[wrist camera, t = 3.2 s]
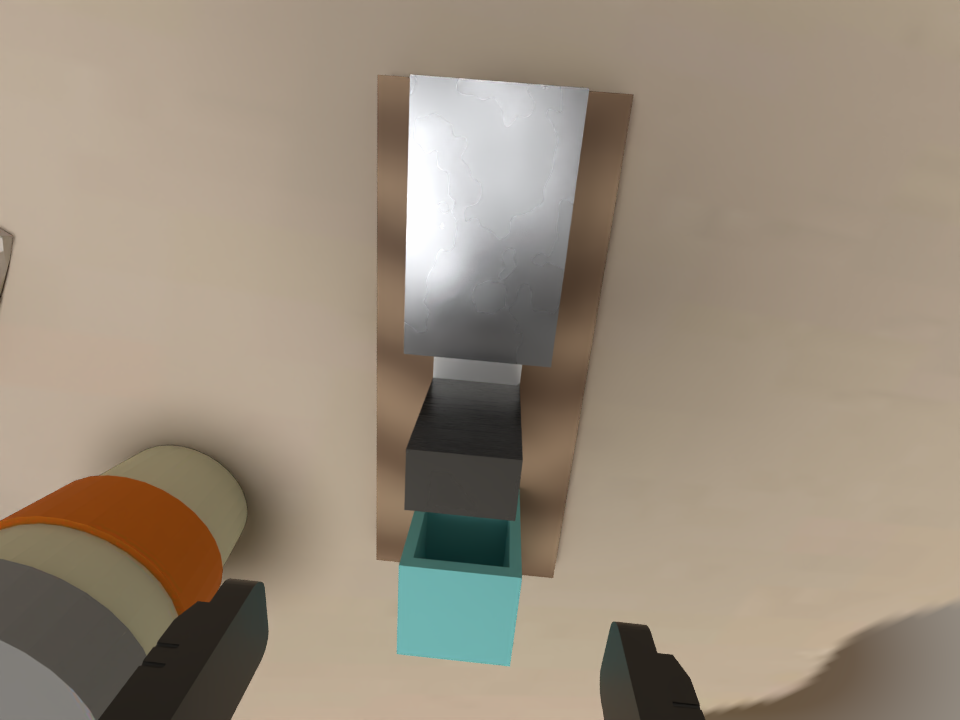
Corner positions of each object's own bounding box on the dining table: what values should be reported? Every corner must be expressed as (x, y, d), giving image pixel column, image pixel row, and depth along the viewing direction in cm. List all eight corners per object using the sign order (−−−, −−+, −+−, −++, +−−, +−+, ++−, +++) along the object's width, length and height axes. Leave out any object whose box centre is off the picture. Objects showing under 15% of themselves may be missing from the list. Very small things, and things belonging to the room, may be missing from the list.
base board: (385, 80, 25) (377, 74, 23) (626, 98, 24) (633, 94, 23) (382, 544, 35) (376, 559, 34) (551, 561, 35) (553, 578, 33)
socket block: (424, 476, 31) (398, 565, 24) (519, 486, 31) (522, 578, 24) (420, 552, 33) (396, 654, 26) (510, 561, 33) (509, 666, 26)
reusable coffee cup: (302, 482, 34) (153, 703, 20) (232, 596, 38) (68, 847, 24) (128, 386, 32) (-174, 555, 18) (74, 518, 36) (-205, 739, 22)
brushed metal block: (439, 103, 24) (410, 74, 17) (565, 113, 23) (589, 88, 16) (431, 307, 27) (403, 353, 20) (540, 316, 27) (550, 367, 20)
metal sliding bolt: (456, 123, 22) (415, 86, 12) (543, 130, 21) (567, 98, 12) (437, 459, 28) (401, 602, 18) (506, 466, 27) (503, 613, 18)
